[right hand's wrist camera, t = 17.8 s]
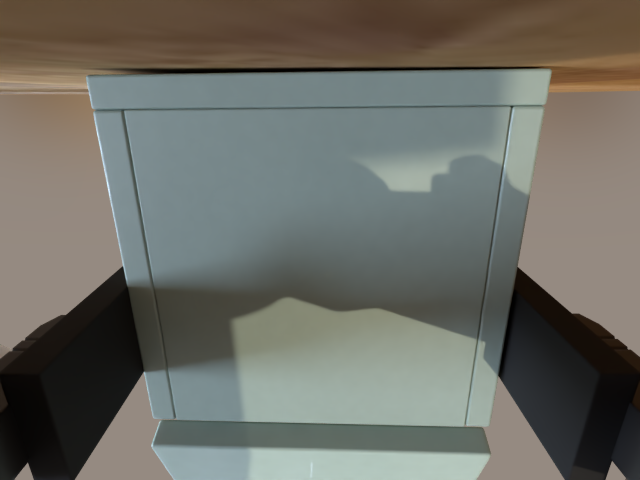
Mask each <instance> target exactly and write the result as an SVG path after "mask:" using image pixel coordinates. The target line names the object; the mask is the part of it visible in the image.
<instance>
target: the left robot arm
mask: <svg viewBox="0 0 640 480" xmlns="http://www.w3.org/2000/svg"><path fill="white" fill-rule="evenodd" d="M12 350H13V349H10V348H7V347H5V346H2V345H0V358H2V357H3V356H4V355H5V354H7V353H8V352H9V351H12Z"/></svg>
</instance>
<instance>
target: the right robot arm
mask: <svg viewBox="0 0 640 480" xmlns="http://www.w3.org/2000/svg"><path fill="white" fill-rule="evenodd" d="M143 372H144V369H143V364H142V359H141V354H140V349H139V344H138V339H137V333H136V328H135V323H134V317H133V312H132V307H131V301H130V296H129V291H128V287H127V283H126V278H125V272H124V267H121V268H120V269H119V270H118V271H117V272H116V273H114V274H113V275H112V276H111V277H110V278H109V279H107V280H106V281H105V282H104V283H103V284H102V285H100V286H99V287H98V288H97V289H96V290H95V291H93V292H92V293H91V294H90V295H89V296H88V297H86V298H85V299H84V300H83V301H82V302H81V303H79V304H78V305H77V306H76V307H75V308H74V309H73V310H71V311H70V312H69V313H68V314H67V315H60V316H58V317H56V318H55V319H53V320H51V321H49V322H47V323H45V324H43V325H41V326H39V327H38V328H37V329H36V330H35V331H33V332H32V333H31V334H30V335H29V336H27V337H26V338H25V341H21V342H20V343H19V344H18V345H16V346H15V347H14V348H13V350H12V351H9V352H8V353H7V354H5V355H4V356H3V357H2V358H0V480H14V479H15V478H16V476H17V475H18V474H19V473H20V471H21V470H22V469H23V468H24V466H25V465H26V464H27V463H28V464H29V467H30V470H31V472H32V475H33V478H34V480H75V478H76V477H77V475H78V474H79V472H80V470H81V469H82V467H83V466H84V464H85V463H86V461H87V460H88V458H89V456H90V455H91V453H92V452H93V450H94V449H95V447H96V446H97V444H98V442H99V441H100V439H101V438H102V436H103V435H104V433H105V431H106V430H107V428H108V427H109V425H110V424H111V422H112V421H113V419H114V417H115V416H116V414H117V413H118V411H119V410H120V408H121V406H122V405H123V403H124V402H125V400H126V399H127V397H128V396H129V394H130V392H131V391H132V389H133V388H134V386H135V384H136V383H137V381H138V380H139V378H140V377H141V375H142V374H143ZM498 376H499V377H500V379H501V381H502V382H503V384H504V385H505V387H506V388H507V390H508V391H509V393H510V395H511V396H512V398H513V399H514V401H515V402H516V404H517V406H518V407H519V409H520V410H521V412H522V413H523V415H524V416H525V418H526V420H527V421H528V423H529V424H530V426H531V427H532V429H533V431H534V432H535V434H536V435H537V437H538V438H539V440H540V442H541V443H542V445H543V446H544V448H545V449H546V451H547V452H548V454H549V455H550V457H551V459H552V460H553V462H554V463H555V465H556V466H557V468H558V470H559V471H560V473H561V474H562V476H563V477H564V479H565V480H605V479H606V476H607V473H608V471H609V468H610V465H611V462H612V461H613V462H614V464H615V465H616V466H617V467H618V469H619V470H620V471H621V472H622V474H623V475H624V476H625V477H626V480H640V357H639V356H638V355H637V354H635V353H634V352H633V351H632V350H628V349H627V346H626V345H624V344H623V343H622V342H620V341H619V340H618V339H615V337H614V336H613V335H612V334H611V333H610V332H608V331H607V330H606V329H605V328H603V327H602V326H601V325H600V324H598V323H596V322H594V321H592V320H590V319H588V318H586V317H584V316H582V315H580V314H572V313H571V312H569V311H568V310H567V309H566V308H565V307H564V306H562V305H561V304H560V303H559V302H558V301H557V300H555V299H554V298H553V297H552V296H551V295H550V294H548V293H547V292H546V291H545V290H544V289H543V288H541V287H540V286H539V285H538V284H537V283H536V282H535V281H533V280H532V279H531V278H530V277H529V276H527V275H526V274H525V273H524V272H523V271H522V270H521V269H519V268H518V267H517V272H516V278H515V284H514V289H513V295H512V301H511V307H510V312H509V318H508V324H507V329H506V335H505V341H504V347H503V352H502V358H501V364H500V370H499V375H498Z"/></svg>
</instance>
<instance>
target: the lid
mask: <svg viewBox="0 0 640 480" xmlns="http://www.w3.org/2000/svg"><path fill="white" fill-rule="evenodd" d="M152 448H153V450H154V451H155V453H156V454H157V456H158V457H159V459H160V460H161V461H162V463H163V464H164V466H165V467H166V469H167V470H168V472H169V473H170V474H171V476H172V478H173V479H174V480H477V478H478V476H479V475H480V473H481V472H482V470H483V468H484V467H485V465H486V463H487V462H488V460H489V458H490V457H491V452H490V449H489V445H488V441H487V438H486V435H485V431H484V429H483V428H481V427H445V426H402V425H360V424H318V423H276V422H233V421H191V420H161V421H160V422H159V425H158V428H157V431H156V433H155V436H154V439H153V442H152Z"/></svg>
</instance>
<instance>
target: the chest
mask: <svg viewBox="0 0 640 480" xmlns="http://www.w3.org/2000/svg"><path fill="white" fill-rule="evenodd" d="M551 73H552V70H551V69H549V68H534V69H463V70H392V71H321V72H250V73H180V74H109V75H88V76H86V80H87V85H88V90H89V95H90V100H91V105H92V108H93V109H95V110H96V111H94V119H95V125H96V130H97V135H98V140H99V145H100V150H101V155H102V160H103V165H104V170H105V176H106V181H107V186H108V191H109V196H110V201H111V206H112V211H113V216H114V221H115V227H116V231H117V237H118V242H119V247H120V252H121V257H122V262H123V267H124V272H125V278H126V283H127V287H128V291H129V296H130V301H131V307H132V312H133V317H134V323H135V328H136V333H137V339H138V344H139V349H140V354H141V359H142V364H143V369H144V374H145V380H146V385H147V390H148V395H149V400H150V405H151V410H152V415H153V418H155V419H175V418H177V420H209V421H251V422H293V423H336V424H378V425H420V426H465V425H467V426H489V425H490V421H491V416H492V410H493V404H494V398H495V393H496V387H497V381H498V375H499V370H500V364H501V358H502V352H503V347H504V341H505V335H506V329H507V324H508V318H509V312H510V307H511V301H512V295H513V289H514V284H515V278H516V272H517V266H518V260H519V255H520V249H521V243H522V237H523V232H524V226H525V220H526V215H527V209H528V203H529V198H530V192H531V186H532V180H533V175H534V169H535V163H536V157H537V152H538V146H539V140H540V134H541V129H542V123H543V117H544V111H545V108H544V107H543V106H541V105H544V104H546V102H547V96H548V91H549V85H550V79H551Z"/></svg>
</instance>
